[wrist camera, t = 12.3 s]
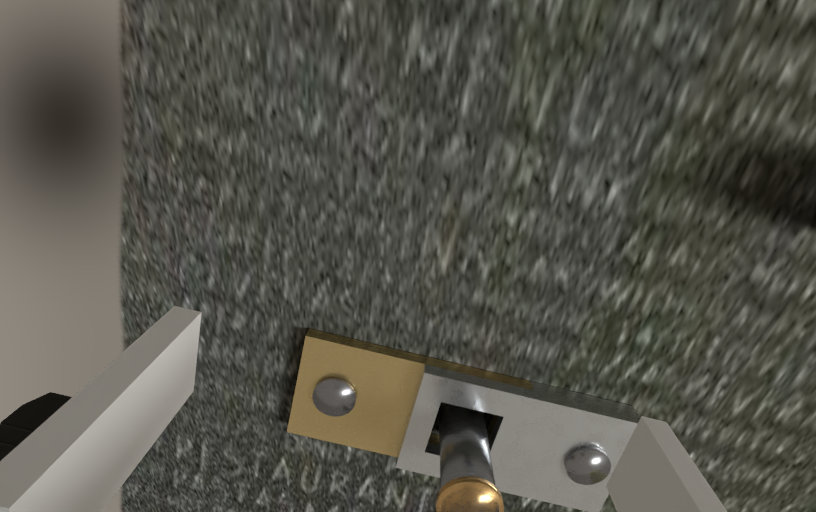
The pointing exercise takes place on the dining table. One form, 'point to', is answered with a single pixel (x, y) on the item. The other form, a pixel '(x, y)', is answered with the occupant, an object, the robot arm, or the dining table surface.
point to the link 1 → (364, 391)
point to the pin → (465, 463)
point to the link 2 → (527, 436)
